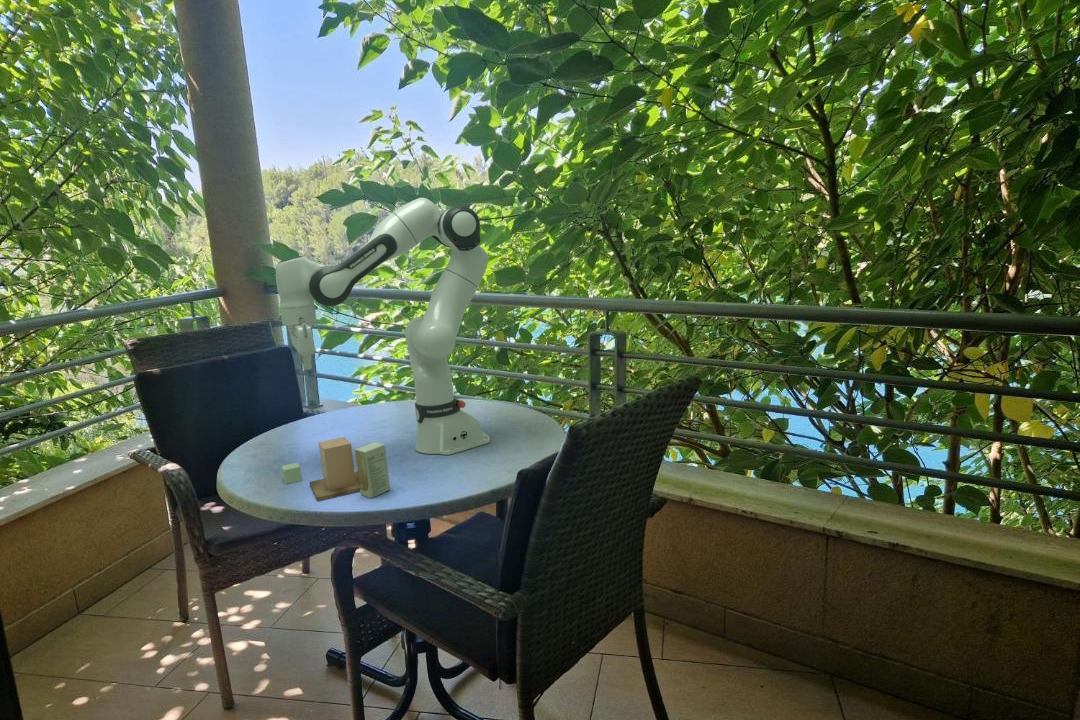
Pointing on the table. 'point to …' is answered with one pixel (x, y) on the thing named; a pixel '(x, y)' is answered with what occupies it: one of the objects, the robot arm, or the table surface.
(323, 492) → the board
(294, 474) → the green block
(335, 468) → the tall tan cardboard box
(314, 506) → the table surface
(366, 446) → the skincare box
